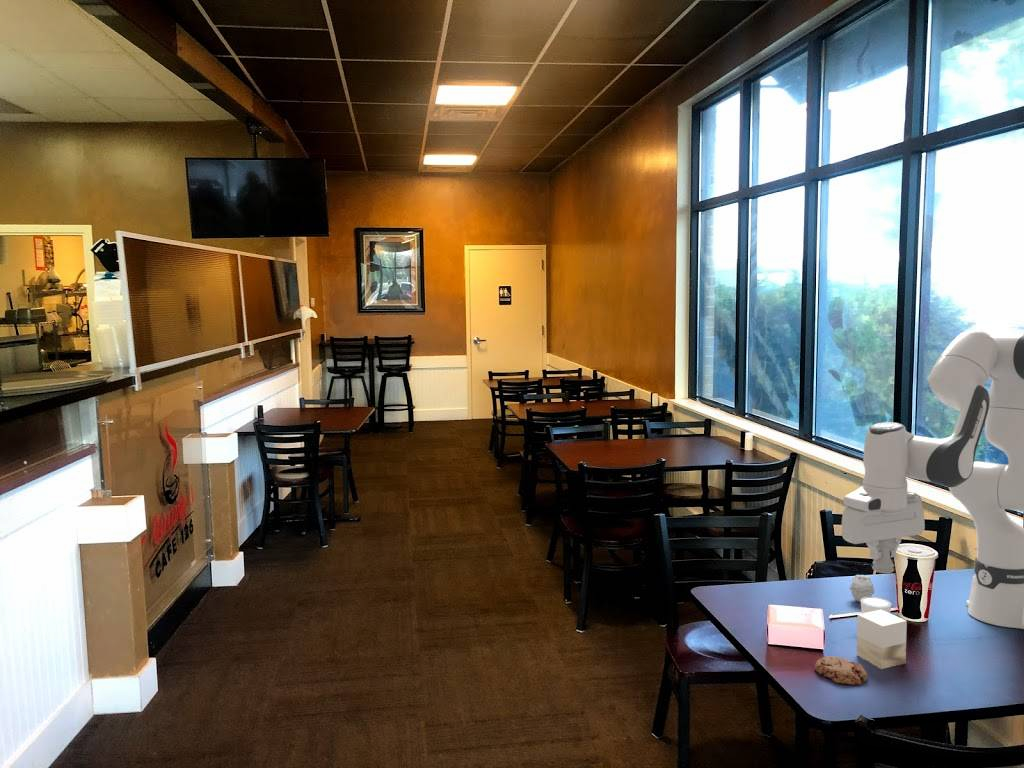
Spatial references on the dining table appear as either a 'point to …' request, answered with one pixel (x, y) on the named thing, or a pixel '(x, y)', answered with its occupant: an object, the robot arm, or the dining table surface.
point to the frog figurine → (861, 587)
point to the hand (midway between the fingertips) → (883, 557)
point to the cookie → (841, 670)
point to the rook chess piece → (884, 558)
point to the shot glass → (874, 604)
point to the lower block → (881, 653)
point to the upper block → (881, 628)
